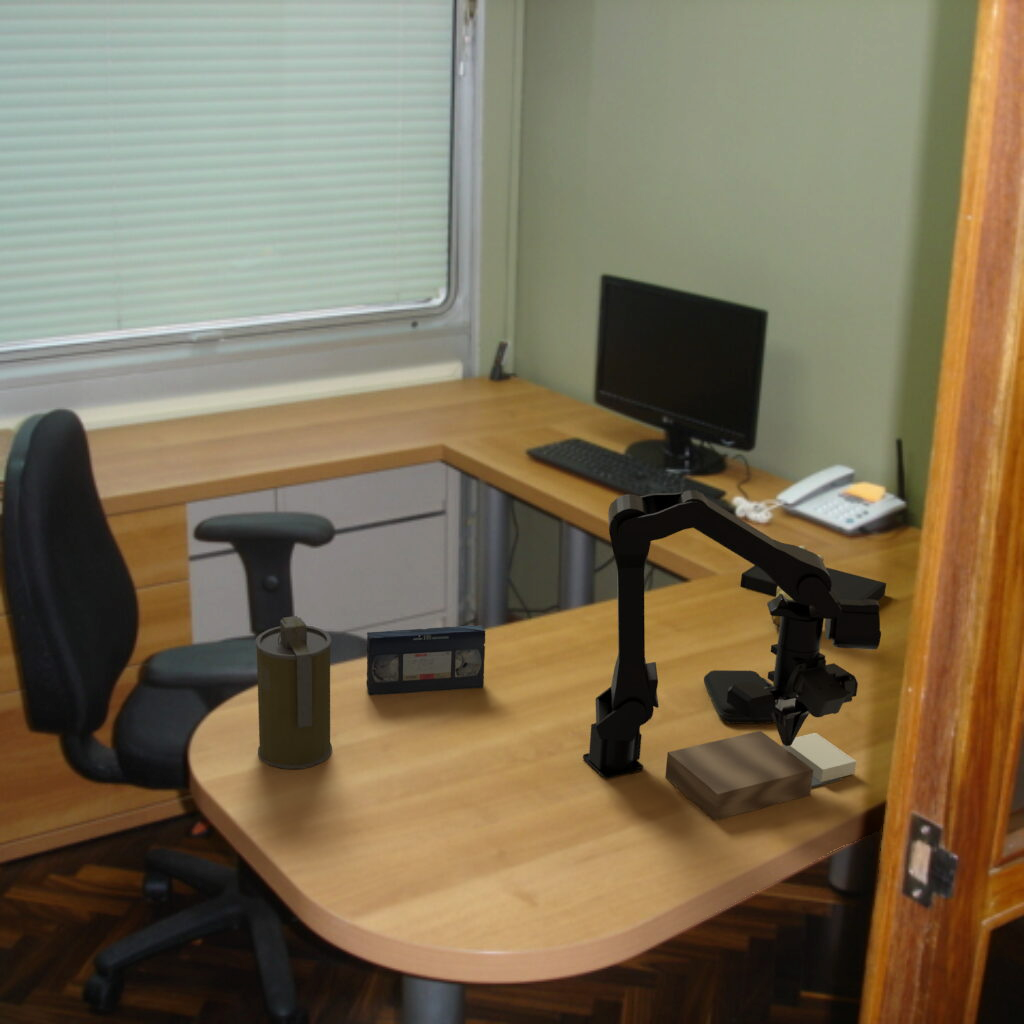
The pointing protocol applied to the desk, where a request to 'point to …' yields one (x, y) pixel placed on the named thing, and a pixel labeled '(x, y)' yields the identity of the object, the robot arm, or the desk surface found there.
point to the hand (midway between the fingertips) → (786, 744)
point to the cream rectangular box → (822, 757)
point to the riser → (738, 774)
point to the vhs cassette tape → (425, 660)
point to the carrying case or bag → (718, 692)
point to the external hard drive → (841, 582)
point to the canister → (294, 694)
